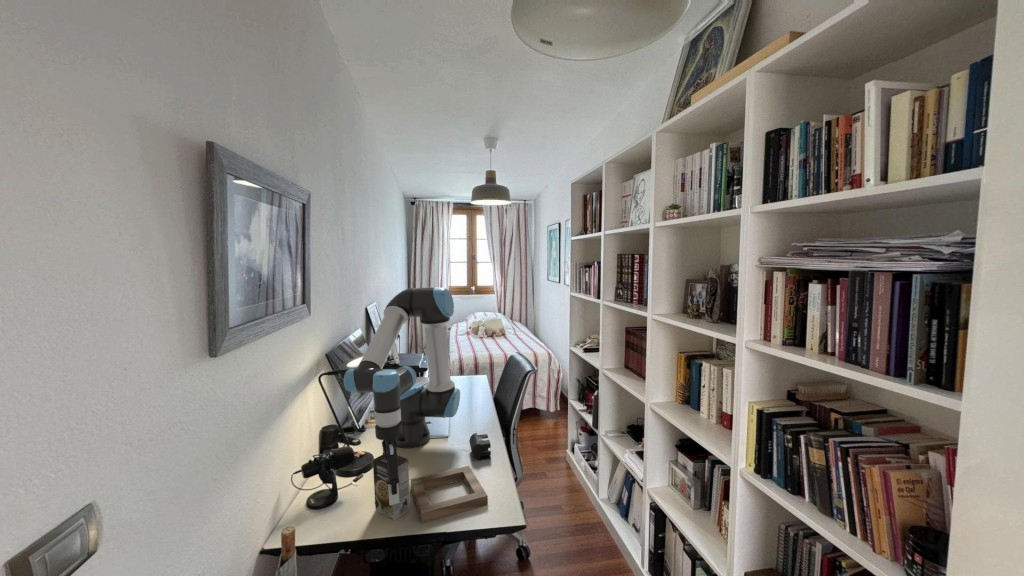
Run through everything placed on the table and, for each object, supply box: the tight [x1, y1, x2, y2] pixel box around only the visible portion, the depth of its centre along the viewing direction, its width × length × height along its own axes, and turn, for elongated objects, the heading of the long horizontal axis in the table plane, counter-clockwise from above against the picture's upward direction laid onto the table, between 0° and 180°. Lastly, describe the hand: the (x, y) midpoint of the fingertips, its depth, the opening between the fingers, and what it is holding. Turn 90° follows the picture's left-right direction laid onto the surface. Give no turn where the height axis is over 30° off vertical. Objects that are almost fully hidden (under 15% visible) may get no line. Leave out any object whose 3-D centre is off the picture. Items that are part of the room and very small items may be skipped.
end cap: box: [468, 432, 492, 461], centre depth 157 cm, size 10×7×7 cm
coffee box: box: [372, 453, 411, 521], centre depth 123 cm, size 9×6×16 cm
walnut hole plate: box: [410, 465, 489, 524], centre depth 130 cm, size 20×20×3 cm
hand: (391, 491), depth 123 cm, fingers open, 13 cm apart
